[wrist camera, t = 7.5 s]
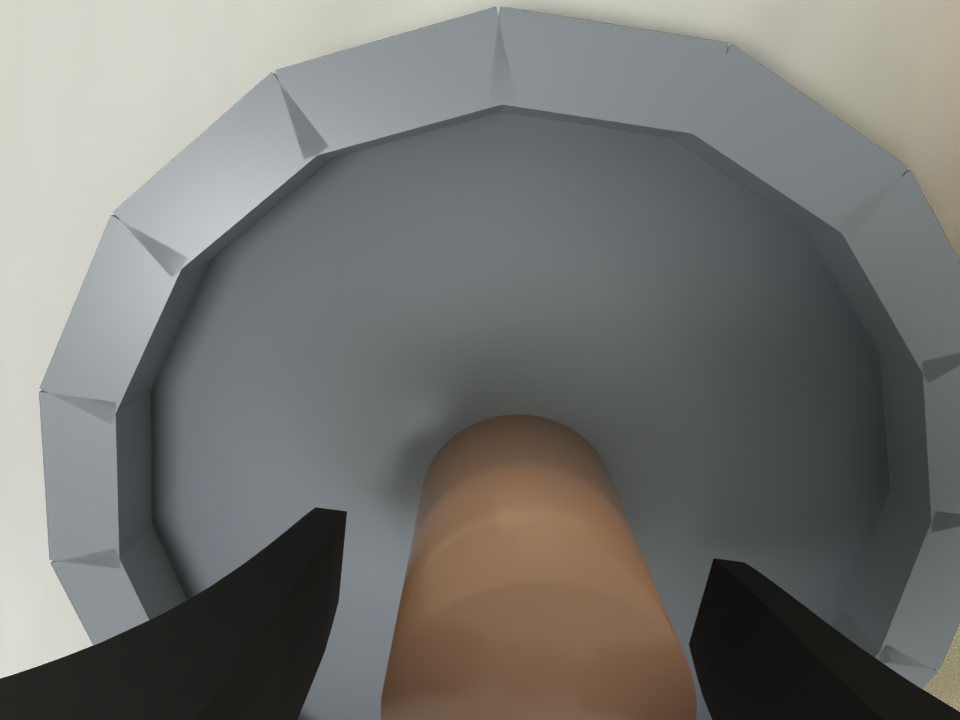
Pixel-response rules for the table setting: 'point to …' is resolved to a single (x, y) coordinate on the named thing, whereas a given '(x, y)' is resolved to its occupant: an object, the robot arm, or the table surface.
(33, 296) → the table surface
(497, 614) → the terracotta rounded cylinder
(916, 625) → the round tray
